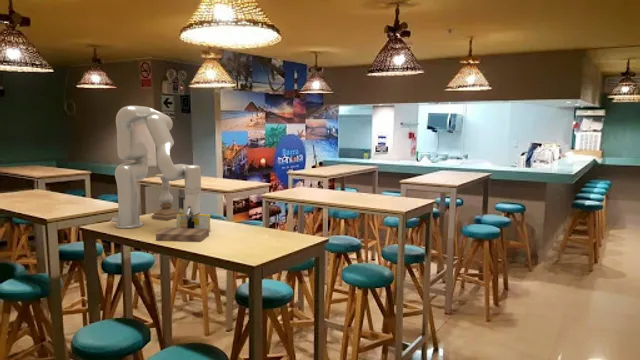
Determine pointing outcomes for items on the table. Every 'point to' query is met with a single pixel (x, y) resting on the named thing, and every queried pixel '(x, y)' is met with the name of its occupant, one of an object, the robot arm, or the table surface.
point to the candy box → (199, 221)
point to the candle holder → (165, 202)
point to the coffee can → (181, 204)
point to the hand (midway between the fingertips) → (193, 227)
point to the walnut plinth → (182, 234)
